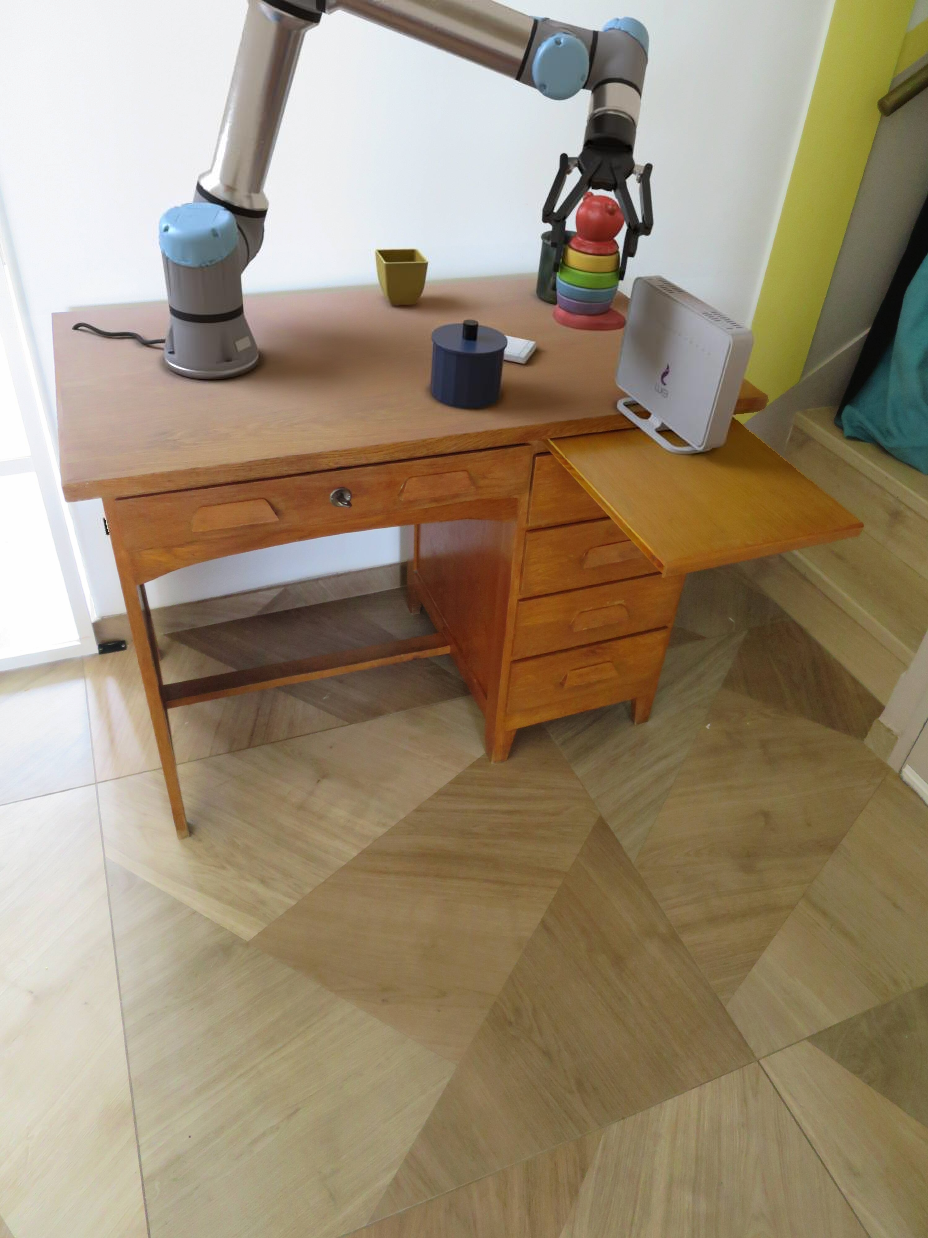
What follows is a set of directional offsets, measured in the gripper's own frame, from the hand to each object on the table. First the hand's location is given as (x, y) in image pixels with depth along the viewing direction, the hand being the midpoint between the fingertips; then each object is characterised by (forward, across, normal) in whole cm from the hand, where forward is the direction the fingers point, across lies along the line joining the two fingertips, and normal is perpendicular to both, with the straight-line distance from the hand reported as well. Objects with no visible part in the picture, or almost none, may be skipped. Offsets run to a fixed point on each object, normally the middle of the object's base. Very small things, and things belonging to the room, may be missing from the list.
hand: (589, 271), depth 128 cm
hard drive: (0, +14, -33) cm, 36 cm away
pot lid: (+8, +17, -12) cm, 22 cm away
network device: (+15, -16, -17) cm, 28 cm away
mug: (-22, +5, -55) cm, 59 cm away
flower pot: (-13, +36, -45) cm, 59 cm away
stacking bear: (+4, 0, -8) cm, 9 cm away
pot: (+14, +17, -18) cm, 29 cm away
